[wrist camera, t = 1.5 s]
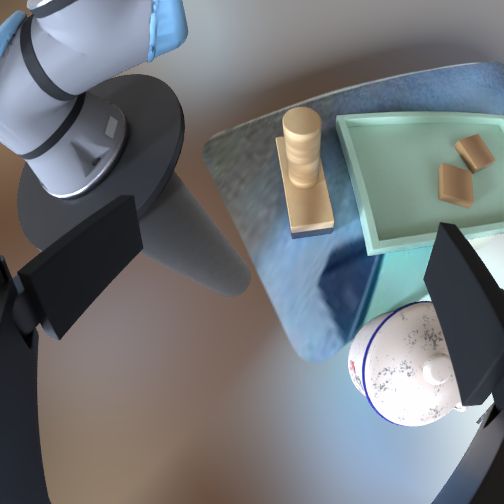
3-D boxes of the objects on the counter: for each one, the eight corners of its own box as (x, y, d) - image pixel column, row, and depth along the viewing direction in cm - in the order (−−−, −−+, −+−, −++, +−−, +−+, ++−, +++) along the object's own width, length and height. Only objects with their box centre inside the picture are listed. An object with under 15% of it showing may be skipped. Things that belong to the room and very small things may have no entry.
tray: (367, 256, 29) (372, 250, 27) (335, 127, 33) (336, 115, 31) (538, 226, 26) (548, 220, 24) (497, 124, 30) (504, 115, 28)
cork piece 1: (438, 200, 28) (443, 194, 27) (437, 168, 29) (441, 162, 28) (468, 208, 27) (473, 203, 26) (466, 177, 28) (471, 171, 27)
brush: (292, 239, 31) (285, 184, 19) (278, 154, 33) (265, 79, 22) (331, 233, 30) (346, 176, 19) (313, 149, 33) (313, 73, 22)
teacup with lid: (325, 368, 27) (340, 390, 16) (383, 291, 28) (428, 265, 17) (412, 432, 23) (463, 475, 12) (465, 359, 24) (534, 364, 13)
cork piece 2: (471, 174, 28) (477, 168, 27) (453, 146, 29) (458, 140, 28) (490, 165, 28) (495, 159, 27) (473, 139, 29) (478, 133, 28)
